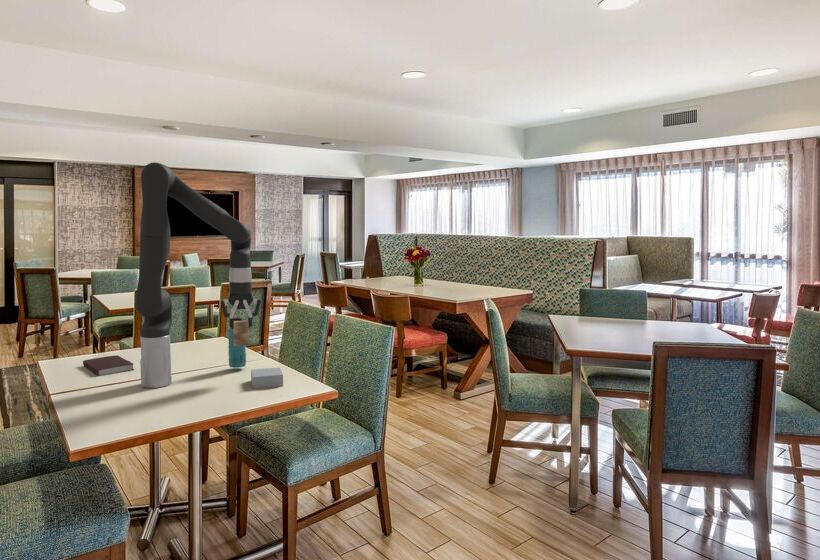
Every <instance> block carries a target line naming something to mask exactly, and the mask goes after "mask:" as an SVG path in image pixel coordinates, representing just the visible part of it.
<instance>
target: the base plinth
mask: <svg viewBox="0 0 820 560" xmlns="http://www.w3.org/2000/svg"><path fill="white" fill-rule="evenodd" d="M250 381H251V382H250V383H251V385H252V389H264V388H275V387H283V386H284V374H283V372H282V370H281V367H268V368H256V369H253V368H252V369H250Z"/></svg>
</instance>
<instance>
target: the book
mask: <svg viewBox="0 0 820 560" xmlns="http://www.w3.org/2000/svg"><path fill="white" fill-rule="evenodd" d="M82 365H83V367H84V368H86V369H87V370H89V371H90V372H92V373H93V374H95V375H96V376H97V377H101V376H105V375H106V376H107V375H115V374H119V373H125V372H131V371H135V368H134V363H133V362H132V361H130V360H127V359H125V358H123V357H122V356H120V355H108V356H101V357H94V358H90V359H84V360H83V361H82Z"/></svg>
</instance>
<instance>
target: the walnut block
mask: <svg viewBox="0 0 820 560" xmlns="http://www.w3.org/2000/svg"><path fill="white" fill-rule="evenodd" d="M249 331H250V328H249V322H248V319H245V320H242V321H234V329H233V343H234V346H244V345H245V346H250V332H249Z"/></svg>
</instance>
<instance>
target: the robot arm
mask: <svg viewBox="0 0 820 560" xmlns="http://www.w3.org/2000/svg"><path fill="white" fill-rule="evenodd" d="M140 183H141V185H140V186H141V196H142V209H141V218H140V231H139V232H140V233H139V258H138V259H139V262H138V264H139V265H138V268H139V271H138V279H137V288H136V292H135V303H134V304H135V308H136V311H137V313H138V314H139V315H140V316H142V317H143V318H144V320H143V323H142V325H141V326H140V329H139V331H140V332H139V334H140V335H139V336H140V337H139V338H140V339H139V340H140V357H141V358H140V361H139V363H140V365H139V366H140V383H141V384H140V386H141V388H148V389H152V388H155V389H156V388H162V387H167V386H169V385H171V384H172V355H171V354H172V353H171V349H172V348H171V328H172V322H173V306H172V305H173V302H172V298H171V295H170V293H169V292H168V291H167V290H165V289H163V288H162V277H163V273H164V271H165V267H166V265H167V262H168V259H169V255H170V251H171V250H170V249H171V226H170V225H171V224H170V219H169V215H168V208H167V207H168V205H167V204H168V203H167V202H168V197H171V198H172V199H174V200H176V201H177V202H179V203H180V204H181V205H183V206H184V207H185V208H186V209H188V210H189V211H190V212H191V213H193V215H195V216H197V217H198V218H199V219H201V220H202V221H203V222H205V223H206V224H207V225H209V226H210V227H212V228H214V229H216V230H217V231H219V232H220V233H221V234H222V235H223V236H225V237H226V238H227V239H228V240H230V254H229V271H228V272H229V273H228V281H229V282H228V283H229V284H228V286H229V287H228V289H229V293H228V295H229V296H228V298H225V299H220V302H219V303H220V305H221V306H220V307H221V309H222V312H223V313H222V314H223V316H224V317H225V318H228V319H229V321H228V322H229V325H228V326H229V327H232V329H234V318H235V313H236V311H237V310H246V313H247V315H248V317H247V320H248V322H249V329H251V327H253V318H254V317H257V316H258V315H259V312H260V311H259V310H260V305H261V304H262V303H261V302H262V301H261V298H256V297H255V298H254V296H253V291H252V290H253V288H252V287H253V283H252V279H253V275H252V268H251V267H252V265H251V264H252V262H251V261H252V259H251V258H252V257H251V246H252V245H251V244H252V231H251V228H250V227H249V225H247V224H246V223H244V222H241V221H239V220H238V219H236V218H235V217H233V216H231V214H229V213H228V212H227V211H226V210H225V209H224V208H222V207H220V206H219V205H217V204H216V203H214V202H213V201H211V199H208V198H207V197H205V196H204V195H202V194H201V193H199V192H198V191H196V190H194V189H193V188H192V187H190V186H189V185H188V184H186V183H185V182H184V181H183V180H182V179H181V178H180V177H179V176H178V175H177V174H175V172H173V170H172V169H171V168H170V167H169V166H167V165H166V164H162V163H161V162H154V161H153V162H150V163H148V164H146V165H145V166H144V167H143V169H142V170H141V173H140ZM252 302H253V303H254V306H255V307H254V310H253V312H252V311H251V309H250V305H251V304H252ZM228 303H229V304H230V305H231V306H232V307H231V310H230V312H229V313H228V311H227V307H226V306H227V305H228Z"/></svg>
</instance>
